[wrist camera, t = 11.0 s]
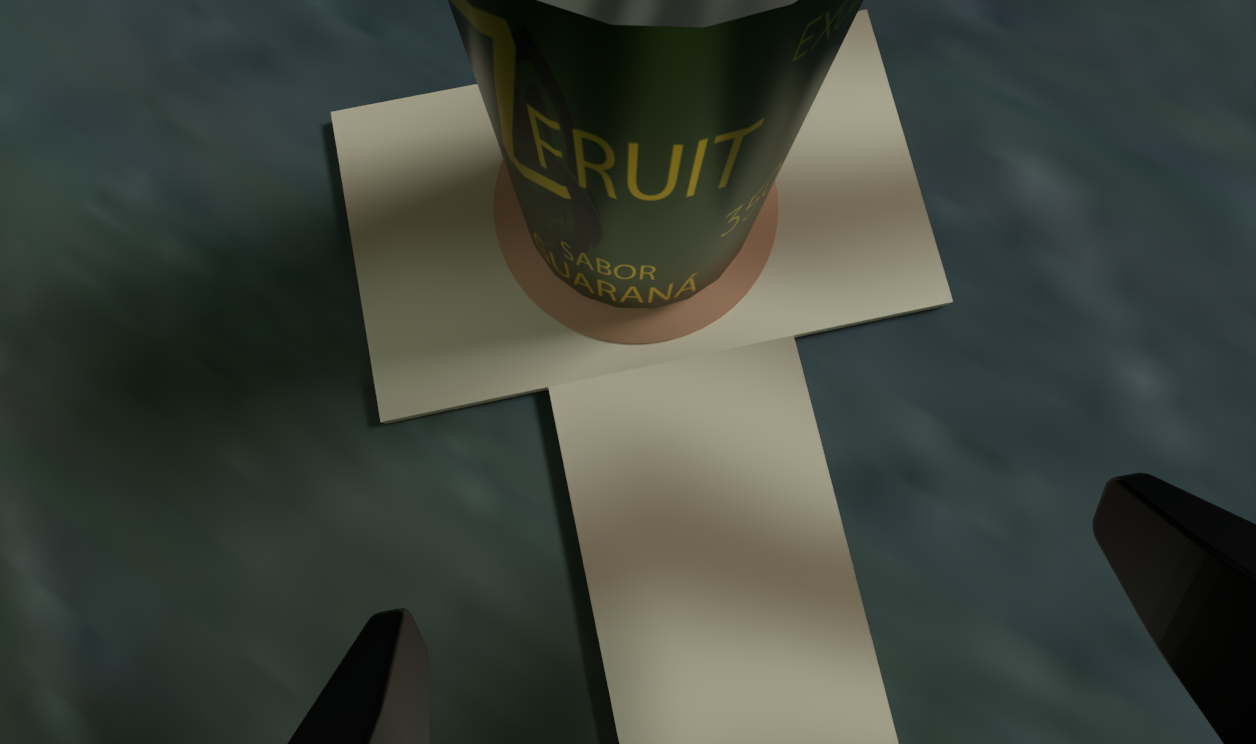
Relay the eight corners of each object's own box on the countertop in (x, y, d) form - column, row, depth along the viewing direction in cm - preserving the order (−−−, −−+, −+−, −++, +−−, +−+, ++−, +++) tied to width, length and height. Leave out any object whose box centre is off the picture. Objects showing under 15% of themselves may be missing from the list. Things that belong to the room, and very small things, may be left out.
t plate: (1068, 725, 17) (1082, 732, 16) (458, 871, 16) (453, 883, 15) (861, 19, 19) (868, 7, 19) (337, 120, 19) (329, 110, 18)
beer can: (551, 92, 18) (426, -632, 7) (762, 129, 18) (1021, -539, 6) (507, 295, 18) (269, -117, 6) (728, 335, 17) (955, 1, 6)
